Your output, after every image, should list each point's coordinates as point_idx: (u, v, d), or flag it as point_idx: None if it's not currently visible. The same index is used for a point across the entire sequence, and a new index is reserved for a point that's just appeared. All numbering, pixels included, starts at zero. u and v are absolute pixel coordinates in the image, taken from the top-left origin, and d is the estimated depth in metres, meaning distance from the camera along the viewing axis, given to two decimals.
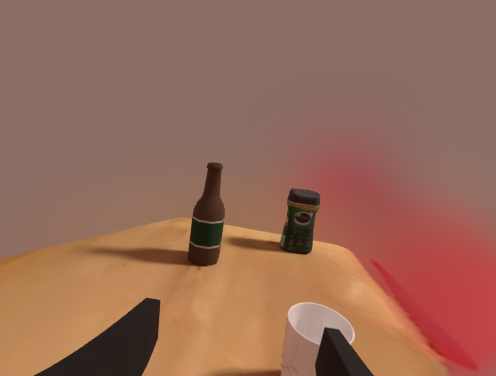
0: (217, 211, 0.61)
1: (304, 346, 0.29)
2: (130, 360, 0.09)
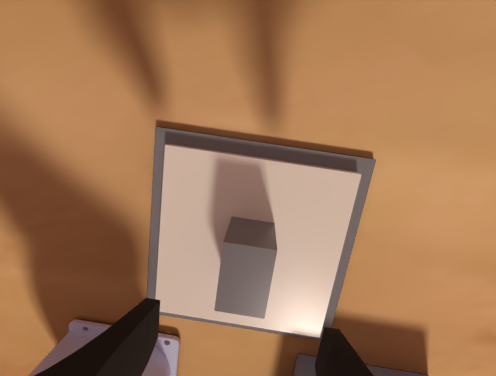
0: None
1: None
2: (130, 360, 0.09)
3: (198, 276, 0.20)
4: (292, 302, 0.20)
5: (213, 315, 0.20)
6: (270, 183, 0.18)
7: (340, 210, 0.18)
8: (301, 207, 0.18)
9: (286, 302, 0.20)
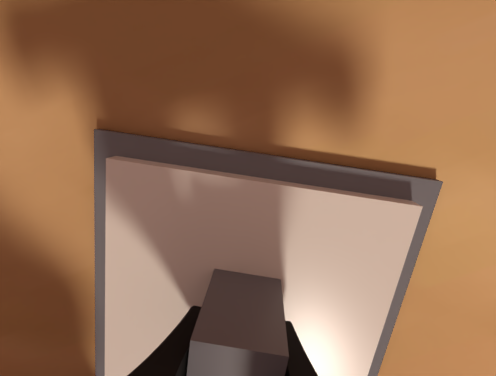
0: None
1: None
2: None
3: None
4: None
5: None
6: (274, 219, 0.11)
7: (385, 261, 0.11)
8: (323, 256, 0.11)
9: None
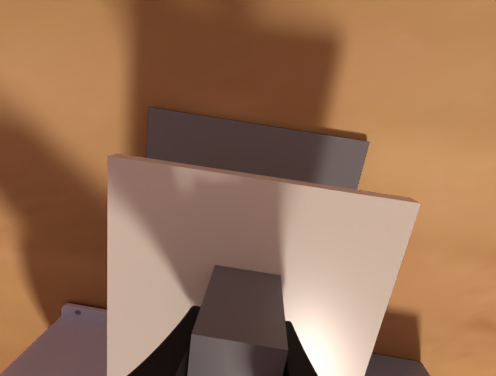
0: None
1: None
2: (187, 370, 0.09)
3: None
4: None
5: None
6: (273, 216, 0.11)
7: (383, 257, 0.11)
8: (322, 253, 0.12)
9: None
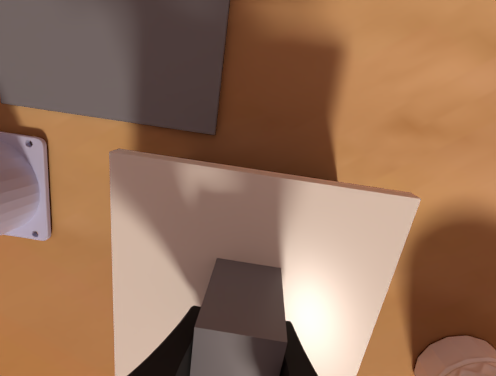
0: None
1: None
2: (187, 370, 0.09)
3: None
4: None
5: None
6: (274, 211, 0.11)
7: (382, 251, 0.12)
8: (322, 246, 0.12)
9: None
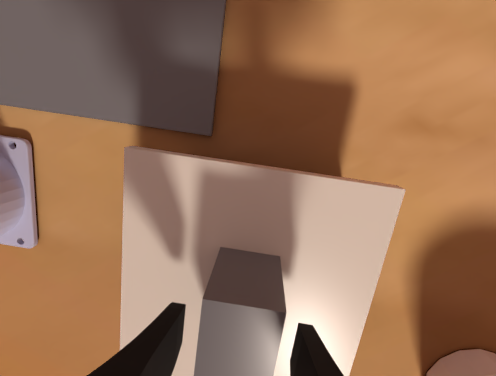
0: None
1: None
2: (161, 365, 0.09)
3: None
4: None
5: None
6: (274, 201, 0.12)
7: (373, 239, 0.13)
8: (318, 235, 0.13)
9: None
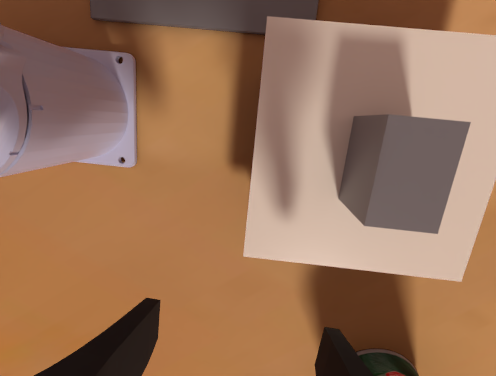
0: None
1: None
2: (130, 360, 0.09)
3: (303, 205, 0.15)
4: (428, 234, 0.15)
5: (320, 258, 0.16)
6: (410, 62, 0.13)
7: None
8: (452, 96, 0.13)
9: (420, 235, 0.15)
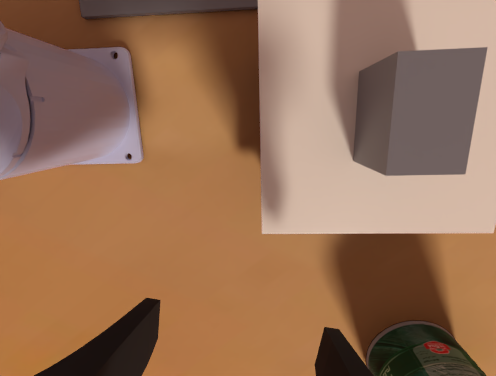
0: None
1: None
2: (130, 360, 0.09)
3: (317, 172, 0.15)
4: (452, 186, 0.14)
5: (341, 226, 0.15)
6: (412, 6, 0.12)
7: None
8: (460, 35, 0.13)
9: (443, 188, 0.14)
